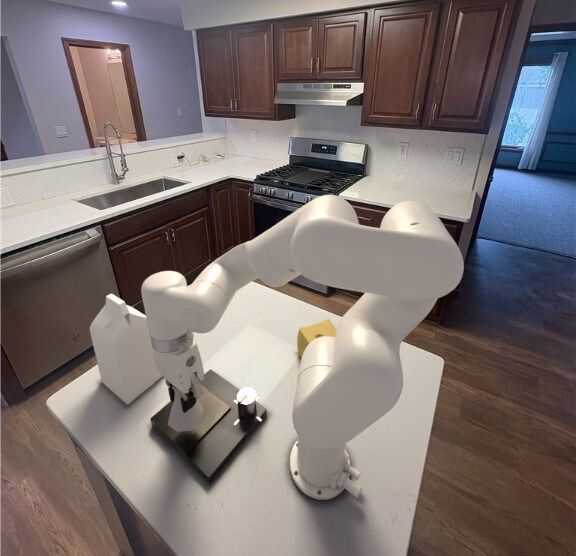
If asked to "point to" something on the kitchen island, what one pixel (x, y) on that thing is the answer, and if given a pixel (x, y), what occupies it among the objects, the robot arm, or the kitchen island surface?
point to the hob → (220, 431)
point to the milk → (123, 349)
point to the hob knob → (246, 403)
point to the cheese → (314, 334)
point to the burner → (210, 417)
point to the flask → (184, 414)
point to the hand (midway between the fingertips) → (183, 401)
